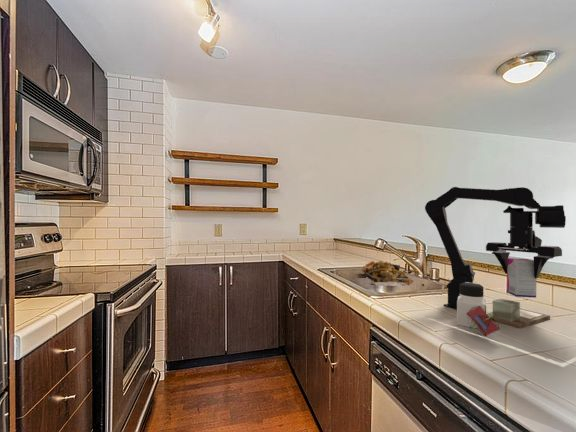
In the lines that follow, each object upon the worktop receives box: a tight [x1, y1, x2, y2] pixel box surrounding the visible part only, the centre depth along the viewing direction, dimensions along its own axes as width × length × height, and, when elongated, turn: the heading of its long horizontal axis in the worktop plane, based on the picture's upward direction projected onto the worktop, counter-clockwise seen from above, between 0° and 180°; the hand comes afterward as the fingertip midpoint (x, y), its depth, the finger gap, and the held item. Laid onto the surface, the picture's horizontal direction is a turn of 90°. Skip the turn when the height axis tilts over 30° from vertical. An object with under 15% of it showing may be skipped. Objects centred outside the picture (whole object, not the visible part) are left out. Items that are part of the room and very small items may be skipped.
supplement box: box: [506, 257, 537, 299], centre depth 95 cm, size 6×6×12 cm
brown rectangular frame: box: [486, 298, 551, 329], centre depth 94 cm, size 18×10×6 cm, turn 117°
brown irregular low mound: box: [361, 260, 426, 287], centre depth 155 cm, size 35×26×11 cm
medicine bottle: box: [456, 282, 487, 330], centre depth 89 cm, size 7×7×12 cm
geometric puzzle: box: [466, 306, 501, 337], centre depth 80 cm, size 7×7×8 cm
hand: (521, 276), depth 95 cm, fingers closed on supplement box, 8 cm apart
